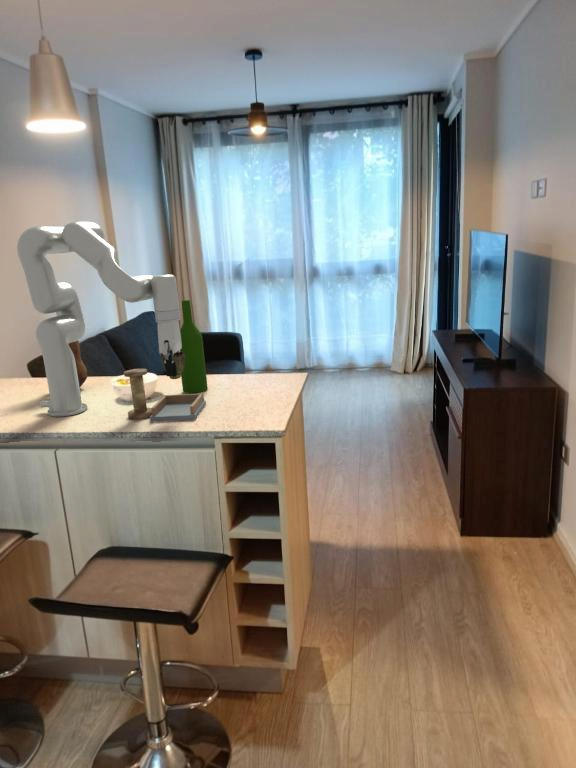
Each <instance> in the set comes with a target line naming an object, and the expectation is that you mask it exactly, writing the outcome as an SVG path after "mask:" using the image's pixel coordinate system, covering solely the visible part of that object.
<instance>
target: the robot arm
mask: <svg viewBox="0 0 576 768" xmlns="http://www.w3.org/2000/svg"><path fill="white" fill-rule="evenodd" d="M16 248H17V249H16V251H17V255H18V259H19V262H20V264H21V267H22V269H23V272H24V276H25V281H26V283H27V288H28V292H29V295H30V298H31V302H32V305H33V307H34V309H35V310H36V311H37V312H38V313H39V314H43V315H46V314H47V315H48V314H54V313H55V314H56V316H52V317H49V318H48V317H47V318H45V319H44V320H42V321H41V322H39V323H38V325H37V326H36V329H35V337H36V340H37V343H38V346H39V348H40V351H41V354H42V357H43V358H42V359H43V364H44V369H45V377H46V381H47V385H48V392H49V398H50V399H48V400H41V401H40V403H39V404H40V408H48V410H47V412H46V413H47V415H48V416H50V417H56V418H59V417H69V416H75V415H77V414H81V413H83V412H85V411H87V410H88V405H87V404H86V403H83V402H82V395H81V387H80V388H79V381H78V375H77V369H76V363H75V358H74V354H73V352H72V350H71V349H70V347H69V345H68V344H69V343H72V342H75V341H78V340H79V341H80V340H81V339H82V338H83V337H84V335H85V333H86V324H85V318H84V314H83V311H82V307H81V303H80V300H79V296H78V293H77V291H76V289H75V288H74V286H72V285H71V284H70V283H68V282H65V281H57V279H56V277H55V276H56V275H55V272H54V269H53V266H52V265H51V263H50V261H49V260H48V259H47V258H46V255H52V254H53V255H55V254H66V253H73V252H74V253H75V254H76V255H77V256H79V257H81V258H82V259H83V260H84V261H86V262H87V263H88V264H89V265H90V266H92V267H93V268H94V269H95V270H96V271H97V274H98V276H99V278H100V280H101V282H102V283H103V284H104V285H105V287H106V288H107V289H108V290H110V291H111V292H112V293H113V294H115V295H116V296H117V297H119V298H120V299H121V300H123V301H124V302H127V303H131V304H135V303H139V302H142V301H144V302H145V301H148V300H153V301H152V302H153V309H154V317H155V323H157V338H158V339H157V340H158V341H157V342H158V353H159V355H160V354H161V355H164V362H165V369H166V372H165V376H166V377H169V376H176V375H177V370H176V363H174V354H175V353H176V354H177V352H178V353H180V350H181V348H182V342H181V334H180V329H181V327H180V322H179V321H181V319H182V316H181V310H180V301H179V293H178V292H179V291H178V285H177V284H178V283H177V278H176V276H175V275H174V274H159V275H152V274H151V275H149V274H143V275H136V276H131V275H130V274H129V273H127V272H126V271H125V270H123V269H122V268H121V267H120V266H119V265H118V264H117V262H116V261H115V260H116V258H117V250H116V248H114V246H113V245H111V244H109V243H108V242H107V241H106V240H105V234H104V230H103V229H102V227H101V226H99V224H97V223H95V222H93V221H72V222H68V223H67V224H66V225H59V226H58V225H52V226H51V225H39V226H38V225H37V226H32V227H30V228H27V229H25V230H24V231H23V232H22V233H21V235H20V236H19V238H18V240H17V246H16ZM170 352H171V353H170ZM171 356H172V358H171Z"/></svg>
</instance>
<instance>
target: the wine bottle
mask: <svg viewBox="0 0 576 768" xmlns="http://www.w3.org/2000/svg"><path fill="white" fill-rule="evenodd" d="M191 306H192V305H191V300H189V299H188V300H182V301H181V310H182V325H181V327H180V334H181V342H182V348H181V350H180V352H181V351H182V352H184V353H185V366H184V370H183V371H182V372H181V373H180V374H181V377H180V378H181V384H182V385H181V386H182V392H183V394H186V393H187V394H195V393H197V394H201V392H202V393H204V392H207V390H208V378H207V370H206V369H207V368H206V360H205V351H204V348H205V347H204V340H203V335H202V332H201V330H200V329H199V328H198V327H197V325H196V324H195V323H194V321H193V317H192V316H193V314H192V309H191V308H192V307H191Z"/></svg>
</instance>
